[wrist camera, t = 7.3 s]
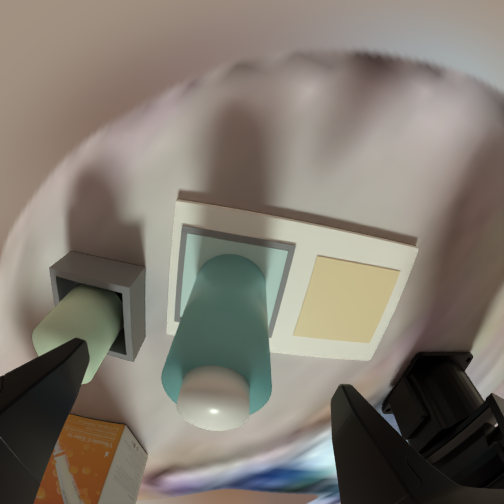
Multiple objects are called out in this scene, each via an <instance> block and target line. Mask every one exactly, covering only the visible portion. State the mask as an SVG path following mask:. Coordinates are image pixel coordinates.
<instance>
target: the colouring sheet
mask: <svg viewBox="0 0 504 504" xmlns="http://www.w3.org/2000/svg"><path fill="white" fill-rule="evenodd" d="M418 250H419V248H418V247H416V246H414V245H409V244H405V243H401V242H397V241H392V240H388V239H384V238H379V237H375V236H371V235H366V234H362V233H357V232H352V231H348V230H343V229H338V228H334V227H329V226H324V225H319V224H314V223H309V222H304V221H299V220H294V219H289V218H284V217H279V216H273V215H268V214H263V213H257V212H252V211H246V210H241V209H235V208H229V207H223V206H217V205H211V204H205V203H199V202H193V201H187V200H180V199H178V200H177V201H176V206H175V215H174V225H173V235H172V247H171V259H170V273H169V289H168V310H167V334H169V335H174V336H175V334H176V331H177V328H178V326H179V323H180V320H181V318H182V315H183V312H184V309H185V307H186V304H187V301H188V299H189V296H190V293H191V291H192V288H193V286H194V283H195V280H196V278H197V275H198V273H199V271H200V269H201V267H202V266H203V265H204V264H205V263H206V262H207V261H209V260H210V259H212V258H214V257H216V256H219V255H224V254H235V255H240V256H243V257H246V258H248V259H250V260H251V261H253V262H254V263H255V264H256V265H257V266H258V267H259V268H260V270H261V271H262V273H263V275H264V278H265V283H266V297H267V313H268V330H269V347H270V352H275V353H283V354H292V355H301V356H311V357H322V358H335V359H349V360H367V361H370V360H371V358H372V356H373V354H374V352H375V350H376V348H377V346H378V344H379V342H380V340H381V338H382V336H383V334H384V332H385V330H386V328H387V326H388V324H389V322H390V319H391V317H392V315H393V313H394V311H395V308H396V306H397V304H398V301H399V299H400V297H401V294H402V292H403V290H404V287H405V285H406V282H407V280H408V277H409V275H410V272H411V269H412V267H413V264H414V261H415V259H416V256H417V253H418Z"/></svg>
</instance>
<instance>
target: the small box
mask: <svg viewBox="0 0 504 504" xmlns="http://www.w3.org/2000/svg"><path fill="white" fill-rule="evenodd" d="M147 458H148V455H147V454H146V452H145V451H144V450H143V448H142V447H141V446H140V444H139V443H138V441H137V440H136V439H135V437H134V436H133V434H132V433H131V432H130V430H129V429H128V427H127V426H126V425H124V424H115V423H109V422H104V421H98V420H93V419H88V418H84V417H80V416H75V415H72V414H69V415H68V417H67V420H66V422H65V424H64V426H63V429H62V431H61V433H60V436H59V438H58V440H57V443H56V445H55V447H54V450H53V452H52V455H51V457H50V460H49V462H48V465H47V468H46V470H45V473H44V475H43V478H42V481H41V484H40V487H39V490H38V493H37V496H36V499H35V502H34V504H135V503H136V500H137V496H138V492H139V488H140V485H141V481H142V477H143V473H144V469H145V466H146V462H147Z"/></svg>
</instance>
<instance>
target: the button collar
mask: <svg viewBox="0 0 504 504" xmlns="http://www.w3.org/2000/svg"><path fill="white" fill-rule="evenodd" d="M49 269H50V277H51V284H52V290H53V297H54V302H55V306H56V305H57V304H58V303H59V302H60V301H61V300H62V299H63V298H64V297H65V296H66V295H67V294H68V293H69V292H70V291H71V290H72V289H73V288H74V287H75V286H76V285H77V284H78V283H79V282H80V283H83V284H87V285H91V286H95V287H99V288H103V289H107V290H111V291H115V292H120V293H122V297H123V317H124V327H122V329H121V331H120V332H119V334H118V335H117V337H116V339H115V340H114V342H113V344H112V345H111V347H110V349H109V351H108V352H107V355H110V356H114V357H117V358H121V359H124V360H128V361H132V362H134V360H135V358H136V356H137V354H138V352H139V350H140V347H141V345H142V343H143V341H144V339H145V267H144V266H139V265H134V264H129V263H124V262H119V261H114V260H110V259H105V258H100V257H96V256H91V255H87V254H82V253H78V252H73V251H71V252H69V253H68V254H67V255H65V256H64V257H63V258H61V259H60V260H59V261H57V262H56V263H55V264H54V265H52V266H51V267H50V268H49Z"/></svg>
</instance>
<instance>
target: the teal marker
mask: <svg viewBox="0 0 504 504" xmlns="http://www.w3.org/2000/svg"><path fill="white" fill-rule="evenodd" d="M161 379H162V384H163V387H164V389H165V391H166V393H167V394H168V396H169V397H170V398H171V399H172V400H173V401H174V402H175V403H176V404H177V405H176V406H177V411H178V413H179V414H180V416H181V417H182V418H183V419H184V420H186V421H187V422H189V423H190V424H192V425H194V426H196V427H199V428H202V429H206V430H212V431H226V430H231V429H235V428H238V427H240V426H241V425H243V424H244V423H245V422H246V421H247V420H248V418H249V415H250V414H252V413H254V412H256V411H258V410H259V409H261V408H262V407H263V406H264V405H265V404H266V403H267V401H268V400H269V398H270V395H271V392H272V383H271V364H270V347H269V330H268V313H267V297H266V283H265V278H264V275H263V273H262V271H261V270H260V268H259V267H258V266H257V265H256V264H255V263H254V262H253V261H251V260H250V259H248V258H246V257H243V256H240V255H235V254H224V255H219V256H216V257H214V258H212V259H210V260H209V261H207V262H206V263H205V264H204V265H203V266H202V267H201V269H200V271H199V273H198V275H197V278H196V280H195V283H194V286H193V288H192V291H191V293H190V296H189V299H188V301H187V304H186V307H185V309H184V312H183V315H182V318H181V320H180V323H179V326H178V328H177V331H176V334H175V337H174V340H173V342H172V345H171V348H170V351H169V354H168V356H167V359H166V362H165V365H164V368H163V371H162V377H161Z"/></svg>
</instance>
